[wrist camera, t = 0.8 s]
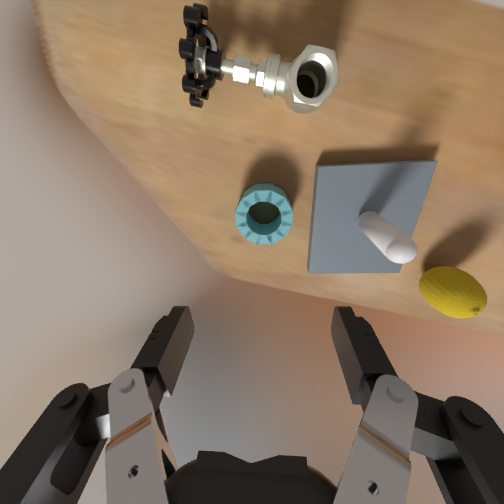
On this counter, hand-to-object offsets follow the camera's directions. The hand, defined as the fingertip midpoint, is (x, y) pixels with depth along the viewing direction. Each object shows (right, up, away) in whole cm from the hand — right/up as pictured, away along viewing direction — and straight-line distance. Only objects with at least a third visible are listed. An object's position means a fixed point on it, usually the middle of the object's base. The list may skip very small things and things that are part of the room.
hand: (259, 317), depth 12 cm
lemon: (+25, +1, +19) cm, 31 cm away
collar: (+1, +9, +15) cm, 18 cm away
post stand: (+13, +8, +15) cm, 22 cm away
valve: (+1, +20, +9) cm, 23 cm away
